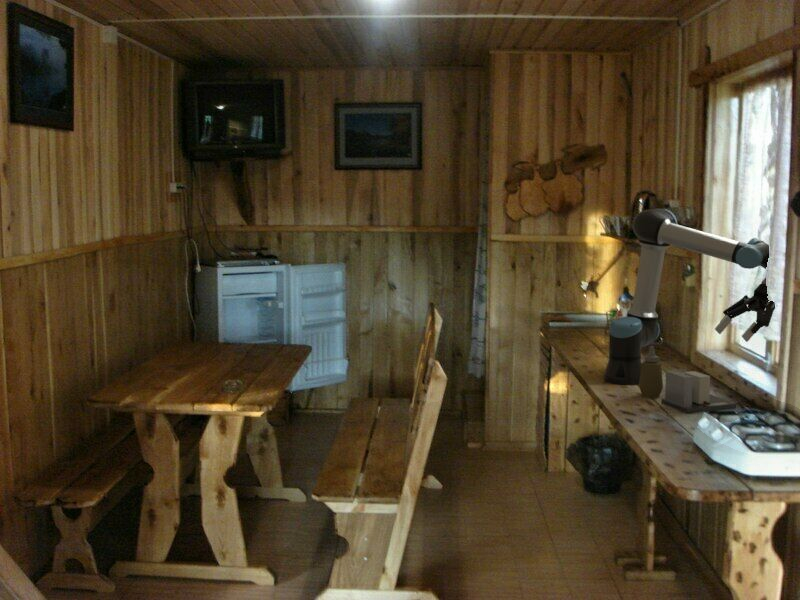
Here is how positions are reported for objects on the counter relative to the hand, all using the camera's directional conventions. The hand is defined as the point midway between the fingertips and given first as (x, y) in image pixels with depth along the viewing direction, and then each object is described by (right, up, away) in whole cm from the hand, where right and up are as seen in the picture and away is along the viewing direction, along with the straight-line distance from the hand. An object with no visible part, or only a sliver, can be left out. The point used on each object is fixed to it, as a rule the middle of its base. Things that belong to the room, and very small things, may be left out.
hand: (730, 335), depth 279 cm
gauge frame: (-13, -23, -6) cm, 27 cm away
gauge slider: (-15, -22, -8) cm, 28 cm away
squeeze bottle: (-25, -22, +7) cm, 34 cm away
